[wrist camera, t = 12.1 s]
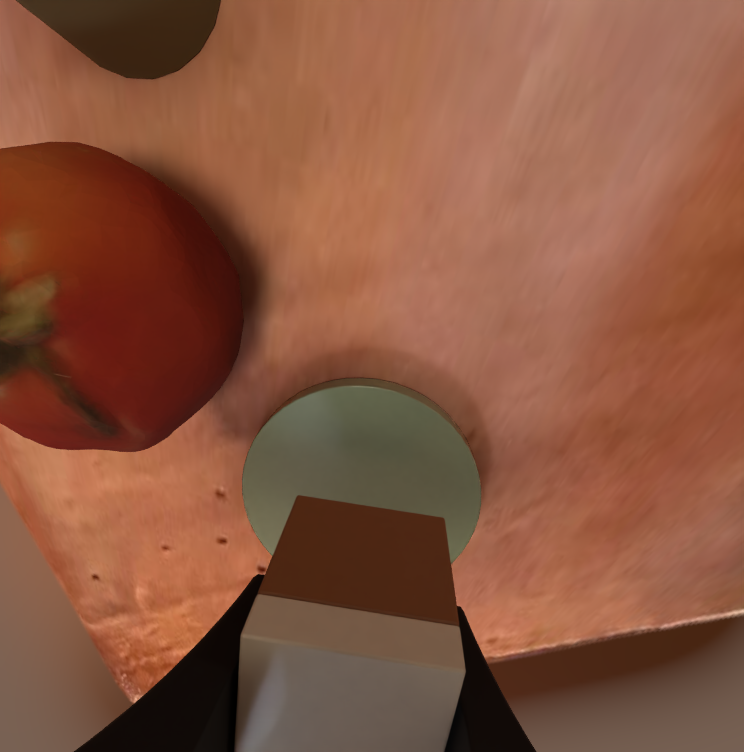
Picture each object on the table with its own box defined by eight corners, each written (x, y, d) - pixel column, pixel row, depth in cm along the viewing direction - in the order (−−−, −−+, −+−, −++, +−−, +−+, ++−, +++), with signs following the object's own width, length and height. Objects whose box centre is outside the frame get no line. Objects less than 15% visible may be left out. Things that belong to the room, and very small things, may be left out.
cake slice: (445, 516, 12) (467, 672, 8) (415, 657, 14) (419, 851, 9) (296, 493, 12) (239, 635, 8) (283, 636, 14) (229, 818, 10)
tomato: (25, 148, 17) (-291, 81, 9) (274, 173, 16) (161, 125, 9) (55, 387, 20) (-166, 487, 12) (267, 412, 19) (177, 532, 12)
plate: (512, 415, 19) (518, 426, 18) (436, 603, 22) (437, 620, 21) (273, 348, 18) (266, 355, 17) (232, 546, 22) (224, 561, 21)
